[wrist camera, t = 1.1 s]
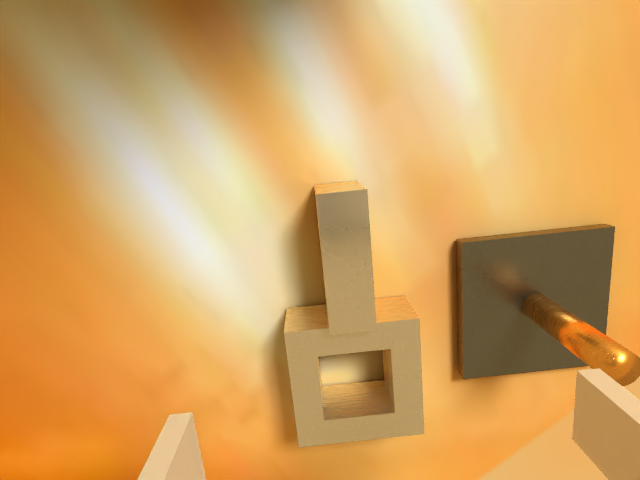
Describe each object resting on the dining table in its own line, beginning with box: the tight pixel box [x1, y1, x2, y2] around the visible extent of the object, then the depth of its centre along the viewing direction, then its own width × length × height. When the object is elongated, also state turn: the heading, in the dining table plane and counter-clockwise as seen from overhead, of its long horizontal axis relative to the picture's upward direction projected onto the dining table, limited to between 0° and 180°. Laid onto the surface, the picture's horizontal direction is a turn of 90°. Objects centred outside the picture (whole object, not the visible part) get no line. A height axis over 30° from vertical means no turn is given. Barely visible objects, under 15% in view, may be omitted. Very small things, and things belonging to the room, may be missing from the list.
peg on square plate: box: [457, 224, 640, 386], centre depth 26 cm, size 11×11×10 cm
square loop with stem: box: [284, 181, 424, 447], centre depth 28 cm, size 18×9×5 cm, turn 6°
